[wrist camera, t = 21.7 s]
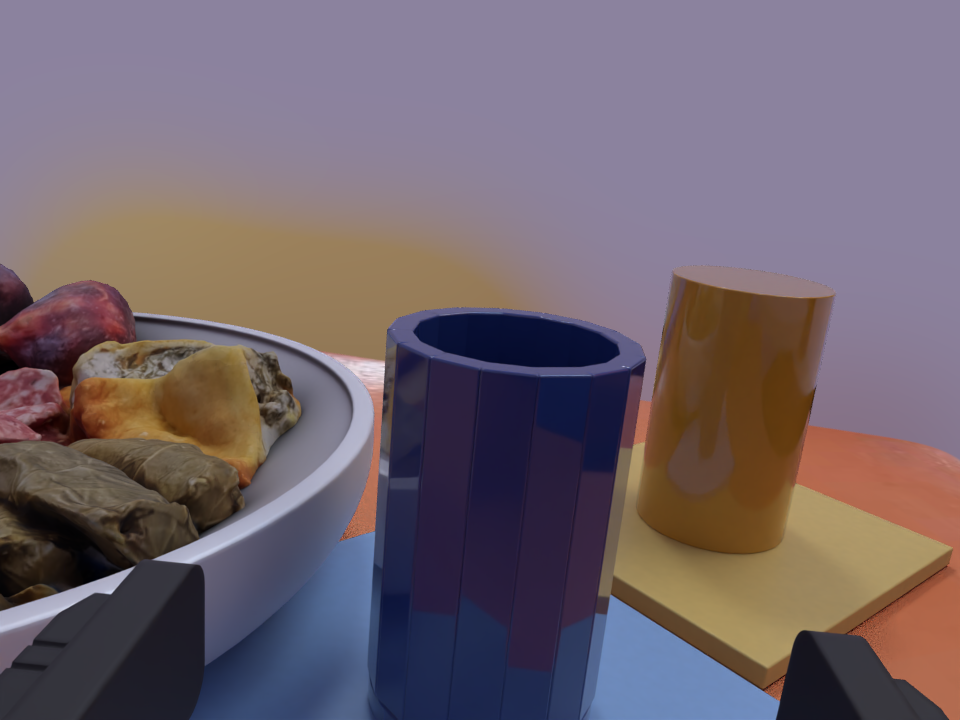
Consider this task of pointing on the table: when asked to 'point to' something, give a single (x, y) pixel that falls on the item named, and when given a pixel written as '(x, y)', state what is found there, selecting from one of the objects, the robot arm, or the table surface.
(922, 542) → the mustard mat
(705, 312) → the glossy amber cylinder
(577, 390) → the navy cup
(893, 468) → the table surface
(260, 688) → the blue mat
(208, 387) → the bowl
